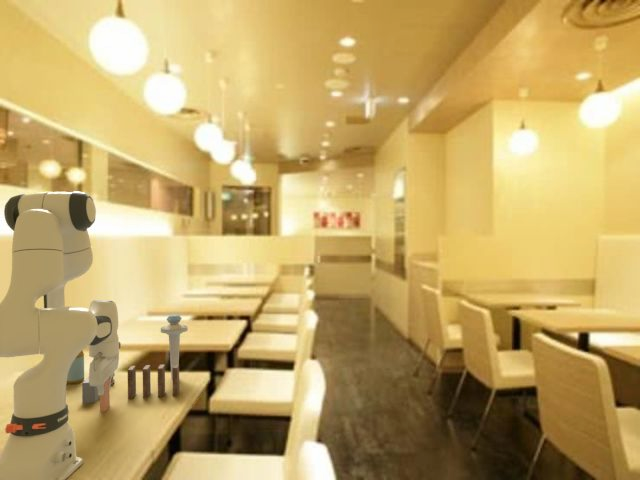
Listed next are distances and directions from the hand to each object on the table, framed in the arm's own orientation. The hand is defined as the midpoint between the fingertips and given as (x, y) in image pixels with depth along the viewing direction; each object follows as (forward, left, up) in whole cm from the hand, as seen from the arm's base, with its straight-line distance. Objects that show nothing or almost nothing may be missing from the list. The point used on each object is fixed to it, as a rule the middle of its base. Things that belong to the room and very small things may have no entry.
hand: (104, 391), depth 157 cm
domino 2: (+11, -6, -6) cm, 14 cm away
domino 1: (0, 0, -6) cm, 6 cm away
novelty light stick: (+29, -18, -6) cm, 35 cm away
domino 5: (+11, -21, -6) cm, 24 cm away
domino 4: (+11, -16, -6) cm, 20 cm away
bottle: (+32, +20, -6) cm, 38 cm away
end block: (+11, +7, -6) cm, 14 cm away
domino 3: (+11, -11, -6) cm, 17 cm away
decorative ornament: (+27, +8, -6) cm, 29 cm away
